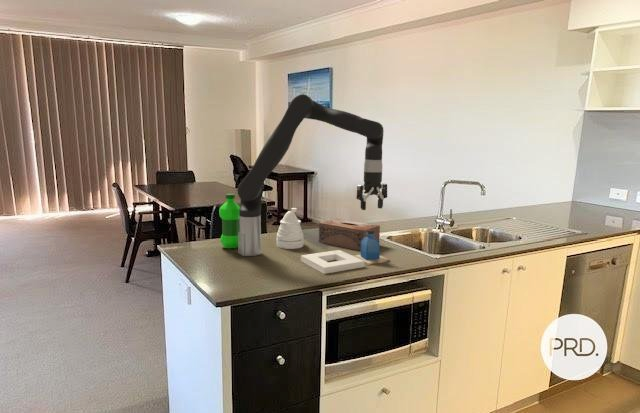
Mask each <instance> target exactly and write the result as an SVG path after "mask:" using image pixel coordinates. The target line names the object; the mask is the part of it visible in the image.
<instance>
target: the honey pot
mask: <svg viewBox="0 0 640 413" xmlns="http://www.w3.org/2000/svg"><path fill="white" fill-rule="evenodd" d="M297 211H298V208H297V207H291V210H289V211H287V212H286V213H285V214H284V216H283V218H282V219H281V220H279V223H280V225H279V227H278V230H277V233H276V247H277V248H279V249H283V250H284V249H285V250H295V249H300V248H302V247H304V233H303V230H302V226H301V223H302V220H300V219H299V218H298V217H297V215H296V214H295V213H296V212H297Z"/></svg>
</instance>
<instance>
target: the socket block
mask: <svg viewBox="0 0 640 413" xmlns="http://www.w3.org/2000/svg"><path fill="white" fill-rule="evenodd" d="M300 262H301V263H304V264H305V265H307V266H309V267H310V268H312V269H315V271H318V272H320V273H321V274H324V275H325V274H333V273H337V272H344V271H348V270H354V269H359V268H365V264H364V261H363V260H361V259H359V258H356V257H354V255H352V254H350V253H348V252H345V251H343V250H340V249H336V250H329V251H322V252H315V253H310V254H309V253H308V254H302V255H300Z"/></svg>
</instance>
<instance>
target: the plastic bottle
mask: <svg viewBox="0 0 640 413" xmlns="http://www.w3.org/2000/svg"><path fill="white" fill-rule="evenodd" d="M225 199H226V201H225V203H223V204H222V205H221V206H219V210H218V212H219V213H218V214H219V217H220V219H221V223H222V224H221V225H222V226H221V228H222V229H221V230H222V234H221V236H220V243H221V245H222V246H223V247H224V248H226V249H227V248H234V249H237V248H238V232H240V226H239V209H240V205H239V204H238V203H236V202H235V199H236V194H235V193H225ZM236 247H237V248H236Z"/></svg>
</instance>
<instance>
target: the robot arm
mask: <svg viewBox="0 0 640 413" xmlns="http://www.w3.org/2000/svg"><path fill="white" fill-rule="evenodd" d="M305 119H307V120H308V119H309V120H315V121H318V122H323V123H327V124H329V125H332V126H334V127H337V128H339V129H342V130H345V131H347V132H351V133H355V134H358V135H360V136H363V137H366V147H365V149H364V150H365V152H364V164H363V181H364V182H363V184H361V185H360V184H357V185H356V187H357V188H356V189H357V190H356V197H355V198H356V199H357V200H359V201H360V209H361V210H362V211H366V210H367V209H366V208H367V199H368V198H369V197H370V196H376V197H377V198H378V199H377V209H383V207H384V199H387V198H388V184H387V183H382V181H383V143H384V142H383V141H384V132H385V131H384V127H383V125H382V124H381V123H380V122H378V121H375V120H371V119H367V118H364V117H361V116H359V115H357V114H353V113H351V112H348V111H344V110H340V109H334V108H331V107H329V106H328V107H327V106H324V105H322V104H320V103H318V102H316V101H315V100H313V99H312V98H311V97H310V96H309V95H307V94H304V93H299V94H297V95H295V96H294V97H293V98H292V99H291V101H290V103H289V104H288V107H287V108H286V111H285V113H284V115H283V117H282V119H281V120H280V122H279V123H278V124H277V125H276V127H275V129H274V131H273V132H272V133H271V135H270V136H269V137H268V139H267V141H266V142H265V144H264V145H263V147H262V149H261V151H260V152H259V154H258V156H257V158H256V159H255V162H254V164H253V165H252V167H251V169H250V170H249V172H248V173H247V174H246V176H245V177H244V178H243V179H242V180H241V181H240V183H239V184H238V186H237V195H238V198H239V199H240V205H239V206H240V209H239V230H240V232H238V247H237V248H238V249H237V250H238V254H239V255H241V257H255V256H259V255H261V254H262V242H261V241H262V238H261V236H262V228H261V227H262V226H261V222H262V220H261V216H262V214H261V212H262V187H263V186H264V185H263V184H264V183H265V181H266V180H267V178H268V176H269V175H270V174H271V173H272V172H273V171H274V169H275V168H276V167H277V166H278V165H279V164H280V162H281V161H282V160H283V157H285V155H286V153H287V151H288V150H289V148H290V147H291V144H292V142H293V138H294V135H295V133H296V132H297V129H298V127H299V126H300V125H301V123H302V122H303V121H304V120H305Z"/></svg>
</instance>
